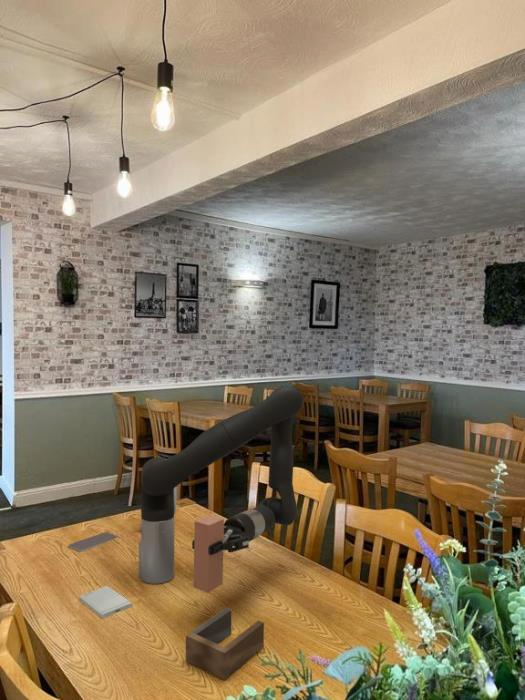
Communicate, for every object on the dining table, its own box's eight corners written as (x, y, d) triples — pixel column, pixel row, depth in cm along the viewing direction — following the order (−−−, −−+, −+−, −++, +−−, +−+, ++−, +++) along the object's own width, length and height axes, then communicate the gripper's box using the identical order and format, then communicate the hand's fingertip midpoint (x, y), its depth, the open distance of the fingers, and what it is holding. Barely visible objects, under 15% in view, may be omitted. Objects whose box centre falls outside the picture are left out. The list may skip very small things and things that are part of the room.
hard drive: (78, 595, 134) (102, 614, 125) (108, 585, 139) (132, 602, 130) (78, 602, 134) (102, 620, 125) (108, 591, 139) (132, 608, 131)
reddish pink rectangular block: (193, 587, 124) (194, 521, 124) (208, 578, 129) (209, 514, 128) (207, 593, 121) (209, 525, 121) (222, 584, 126) (223, 518, 126)
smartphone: (119, 536, 174) (80, 550, 162) (119, 539, 174) (80, 553, 162) (105, 531, 179) (66, 544, 167) (105, 534, 179) (66, 547, 167)
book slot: (185, 661, 109) (185, 635, 109) (226, 631, 120) (226, 607, 120) (224, 680, 103) (225, 653, 103) (263, 647, 114) (263, 622, 114)
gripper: (223, 507, 140) (179, 525, 126) (267, 519, 132) (225, 539, 118) (223, 534, 141) (178, 556, 127) (266, 548, 132) (224, 572, 118)
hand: (201, 548), depth 122 cm, fingers closed on reddish pink rectangular block, 4 cm apart
